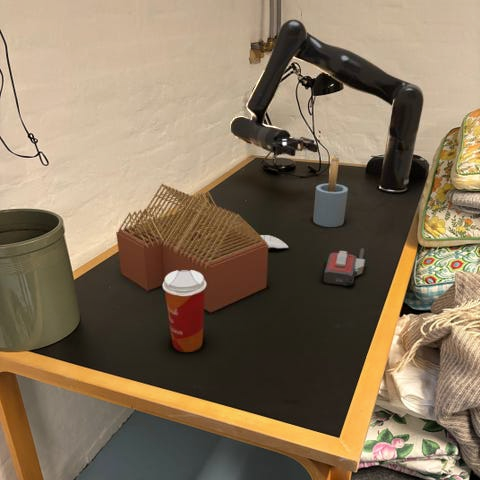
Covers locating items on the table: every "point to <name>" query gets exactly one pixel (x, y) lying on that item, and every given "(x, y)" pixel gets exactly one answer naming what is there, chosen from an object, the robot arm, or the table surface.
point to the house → (194, 248)
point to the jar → (330, 205)
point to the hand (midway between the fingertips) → (306, 150)
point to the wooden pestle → (333, 174)
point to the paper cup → (185, 308)
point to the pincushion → (273, 241)
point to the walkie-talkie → (343, 268)
